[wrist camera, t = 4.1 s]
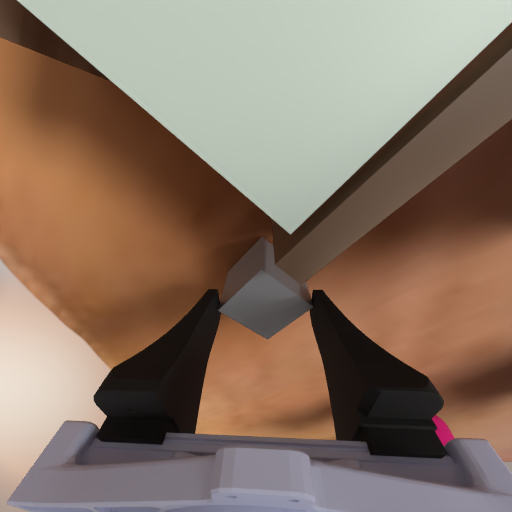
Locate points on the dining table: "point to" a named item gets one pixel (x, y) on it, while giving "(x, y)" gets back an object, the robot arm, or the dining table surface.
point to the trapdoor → (279, 78)
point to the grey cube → (263, 292)
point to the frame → (378, 166)
